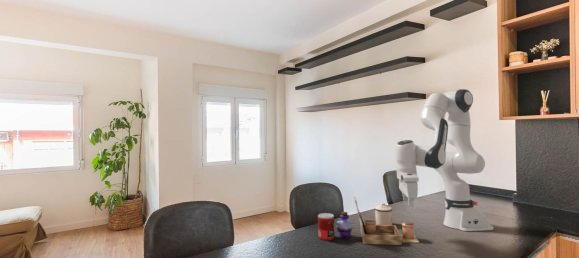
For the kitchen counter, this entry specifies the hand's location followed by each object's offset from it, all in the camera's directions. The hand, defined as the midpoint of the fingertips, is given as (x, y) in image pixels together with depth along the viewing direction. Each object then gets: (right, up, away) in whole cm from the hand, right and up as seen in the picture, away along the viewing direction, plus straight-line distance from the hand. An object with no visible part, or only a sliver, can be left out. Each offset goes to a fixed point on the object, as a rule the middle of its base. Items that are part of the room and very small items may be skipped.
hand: (408, 203), depth 137 cm
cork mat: (0, -17, 0) cm, 17 cm away
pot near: (0, -16, 0) cm, 16 cm away
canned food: (-38, -18, +4) cm, 42 cm away
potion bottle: (-29, -18, +4) cm, 34 cm away
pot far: (-16, -16, +5) cm, 24 cm away
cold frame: (-15, -17, +1) cm, 22 cm away
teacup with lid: (-5, -17, +23) cm, 29 cm away
